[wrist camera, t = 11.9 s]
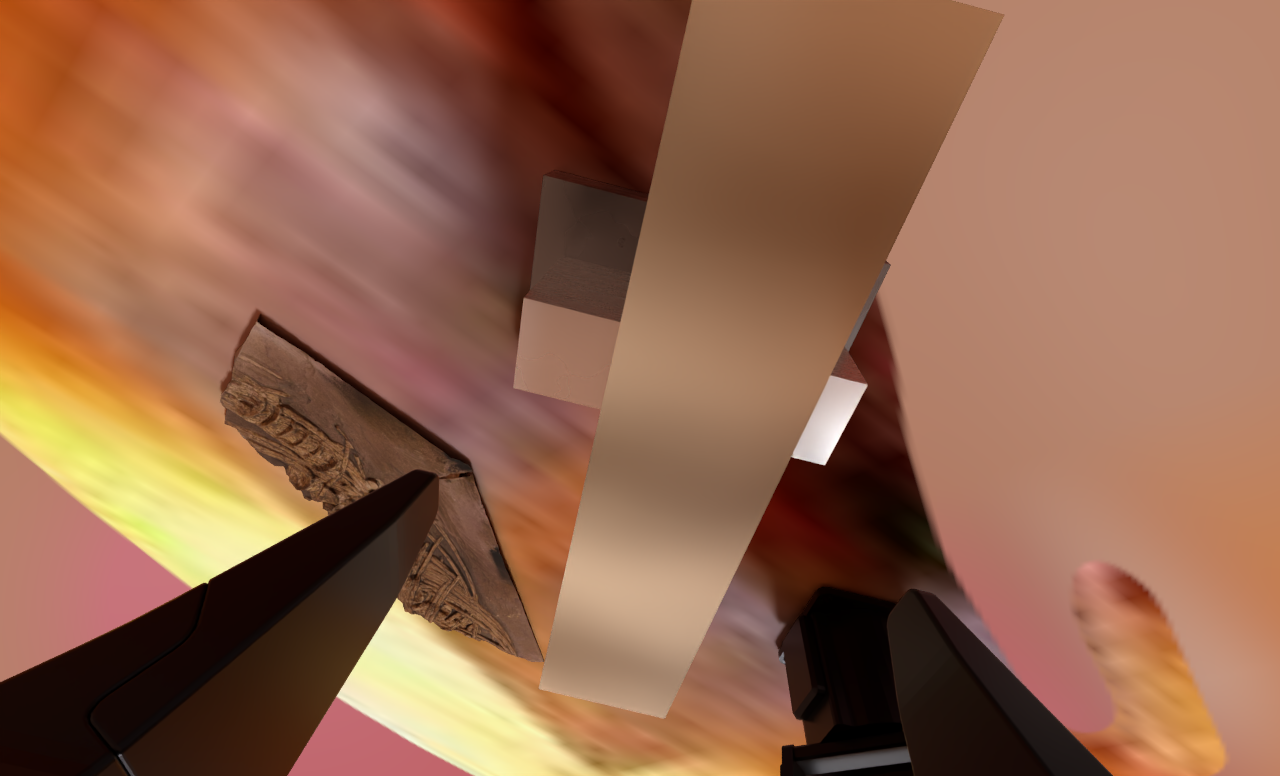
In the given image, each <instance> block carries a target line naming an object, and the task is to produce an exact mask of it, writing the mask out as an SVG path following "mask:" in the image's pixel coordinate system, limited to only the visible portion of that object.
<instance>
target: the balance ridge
mask: <svg viewBox="0 0 1280 776" xmlns="http://www.w3.org/2000/svg"><path fill="white" fill-rule="evenodd" d="M648 196H649V194H645V193H642V192H638V191H634V190H630V189H626V188H622V187H618V186H615V185H611V184H607V183H603V182H599V181H595V180H591V179H588V178H584V177H580V176H576V175H572V174H568V173H564V172H561V171H557V170H554V171H551V172H549V173H547V174H545V175H543V183H542V192H541V200H540V208H539V217H538V225H537V234H536V242H535V251H534V259H533V267H532V276H531V284H530V291H529V292H528V294H527V295H526V296H525V297H524V299H523V308H522V316H521V325H520V334H519V343H518V352H517V361H516V370H515V378H514V387H513V388H516V389H520V390H524V391H528V392H532V393H536V394H540V395H544V396H548V397H552V398H556V399H560V400H564V401H568V402H572V403H576V404H580V405H584V406H588V407H592V408H596V409H600V410H601V407H602V403H603V398H604V394H605V389H606V385H607V380H608V376H609V371H610V367H611V362H612V358H613V353H614V349H615V344H616V340H617V335H618V331H619V326H620V322H621V317H622V313H623V308H624V304H625V299H626V295H627V290H628V286H629V281H630V277H631V273H632V268H633V264H634V259H635V255H636V250H637V246H638V241H639V237H640V232H641V228H642V223H643V219H644V214H645V210H646V205H647V201H648ZM889 268H890V264H889V263H888V262H887V261H885V263H884V265H883V268H882V270H881V272H880V274H879V276H878V278H877V280H876V282H875V284H874V286H873V288H872V290H871V292H870V294H869V297H868V299H867V301H866V303H865V305H864V307H863V309H862V311H861V313H860V315H859V317H858V319H857V321H856V323H855V326H854V328H853V330H852V332H851V334H850V336H849V338H848V340H847V342H846V344H845V346H844V348H843V350H842V352H841V355H840V357H839V359H838V361H837V363H836V365H835V367H834V369H833V371H832V373H831V375H830V377H829V379H828V381H827V384H826V386H825V388H824V390H823V392H822V394H821V396H820V398H819V400H818V402H817V404H816V406H815V408H814V410H813V413H812V415H811V417H810V419H809V421H808V423H807V425H806V427H805V429H804V431H803V433H802V435H801V437H800V439H799V442H798V444H797V446H796V448H795V450H794V452H793V454H792V456H791V457H793V458H797V459H801V460H805V461H809V462H813V463H817V464H821V465H825V464H826V463H827V461H828V459H829V457H830V455H831V453H832V451H833V449H834V448H835V446H836V444H837V442H838V440H839V438H840V436H841V434H842V433H843V431H844V429H845V427H846V425H847V423H848V421H849V419H850V417H851V416H852V414H853V412H854V410H855V408H856V406H857V404H858V402H859V401H860V399H861V397H862V395H863V393H864V391H865V389H866V387H867V386H868V384H867V383H866V381H865V379H864V378H863V376H862V374H861V373H860V371H859V369H858V368H857V366H856V364H855V363H854V361H853V359H852V358H851V356H850V354H849V353H848V351H849V349H850V347H851V345H852V343H853V341H854V339H855V337H856V335H857V333H858V331H859V329H860V327H861V325H862V323H863V321H864V319H865V317H866V315H867V313H868V311H869V308H870V306H871V304H872V302H873V300H874V298H875V296H876V294H877V292H878V290H879V288H880V286H881V284H882V282H883V280H884V278H885V275H886V274H887V271H888V270H889Z"/></svg>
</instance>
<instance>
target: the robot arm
mask: <svg viewBox="0 0 1280 776" xmlns="http://www.w3.org/2000/svg"><path fill="white" fill-rule="evenodd" d="M438 507H439V476H438V475H437V474H436V473H433V472H429V471H425V470H421V469H415V470H412V471H410V472H408V473H407V474H405V475H403V476H401V477H399V478H397V479H395V480H394V481H392V482H390V483H388V484H386V485H384V486H382V487H381V488H379V489H377V490H375V491H373V492H371V493H369V494H368V495H366V496H364V497H362V498H360V499H358V500H357V501H355V502H353V503H351V504H349V505H347V506H345V507H344V508H342V509H340V510H338V511H336V512H334V513H332V514H331V515H329V516H327V517H325V518H323V519H321V520H319V521H318V522H316V523H314V524H312V525H310V526H308V527H306V528H305V529H303V530H301V531H299V532H297V533H295V534H293V535H292V536H290V537H288V538H286V539H284V540H282V541H280V542H279V543H277V544H275V545H273V546H271V547H269V548H267V549H266V550H264V551H262V552H260V553H258V554H256V555H254V556H253V557H251V558H249V559H247V560H245V561H243V562H241V563H240V564H238V565H236V566H234V567H232V568H230V569H229V570H227V571H225V572H223V573H221V574H219V575H217V576H216V577H214V578H212V579H210V580H209V582H208V584H207V583H202V584H200V585H198V586H197V587H195V588H193V589H191V590H189V591H187V592H185V593H184V594H182V595H180V596H178V597H176V598H174V599H172V600H170V601H169V602H167V603H165V604H163V605H161V606H159V607H157V608H155V609H153V610H151V611H149V612H148V613H145V614H144V615H142V616H140V617H138V618H136V619H134V620H132V621H130V622H128V623H126V624H124V625H122V626H120V627H117V628H115V629H113V630H111V631H109V632H107V633H105V634H103V635H101V636H99V637H97V638H94V639H92V640H90V641H88V642H86V643H84V644H82V645H80V646H78V647H76V648H73V649H71V650H69V651H67V652H65V653H63V654H61V655H58V656H56V657H54V658H52V659H50V660H48V661H45V662H43V663H41V664H39V665H37V666H34V667H33V668H30V669H28V670H26V671H24V672H22V673H20V674H17V675H15V676H13V677H11V678H9V679H6V680H4V681H2V682H0V776H287V775H288V774H289V772H290V771H291V769H292V767H293V766H294V764H295V762H296V761H297V759H298V757H299V756H300V754H301V753H302V751H303V749H304V748H305V746H306V745H307V743H308V741H309V740H310V738H311V736H312V735H313V733H314V732H315V730H316V728H317V727H318V725H319V724H320V722H321V720H322V719H323V717H324V715H325V714H326V712H327V710H328V709H329V707H330V706H331V704H332V702H333V701H334V699H335V698H336V696H337V694H338V693H339V691H340V689H341V688H342V686H343V685H344V683H345V681H346V680H347V678H348V676H349V675H350V673H351V672H352V670H353V668H354V667H355V665H356V663H357V662H358V660H359V659H360V657H361V655H362V654H363V652H364V650H365V649H366V647H367V646H368V644H369V642H370V641H371V639H372V638H373V636H374V634H375V633H376V631H377V629H378V628H379V626H380V625H381V623H382V621H383V620H384V618H385V616H386V615H387V613H388V612H389V610H390V608H391V607H392V605H393V603H394V602H395V600H396V598H397V596H398V595H399V593H400V591H401V589H402V587H403V585H404V583H405V581H406V579H407V577H408V575H409V572H410V570H411V568H412V566H413V564H414V562H415V560H416V558H417V556H418V554H419V551H420V549H421V547H422V545H423V543H424V541H425V539H426V537H427V535H428V532H429V530H430V528H431V526H432V524H433V522H434V520H435V518H436V515H437V512H438ZM778 654H779V660H780V662H781V663H783V664H785V665H786V672H787V678H788V685H789V691H790V698H791V704H792V711H793V714H794V716H795V717H796V719H798V720H802V721H803V725H804V731H805V737H806V743H807V745H801V746H794V745H786V746H782V765H781V766H780V776H1113V775H1112V774H1111V773H1110V772H1109V771H1108V770H1107V769H1106V768H1105V767H1104V766H1103V765H1102V764H1101V763H1100V762H1099V761H1098V760H1097V759H1096V758H1095V757H1094V756H1093V755H1092V754H1091V753H1090V752H1089V751H1088V750H1087V749H1086V748H1085V747H1084V746H1083V745H1082V744H1081V743H1080V742H1079V741H1078V740H1077V739H1076V738H1075V737H1074V735H1073V734H1072V733H1071V732H1070V731H1069V730H1068V729H1067V728H1066V727H1065V726H1064V725H1063V724H1062V723H1061V722H1060V721H1059V720H1058V719H1057V718H1056V717H1055V716H1054V715H1053V714H1052V713H1051V712H1050V711H1049V710H1048V709H1047V708H1046V707H1045V706H1044V705H1043V704H1042V703H1041V702H1040V701H1039V700H1038V699H1037V698H1036V697H1035V696H1034V695H1033V694H1032V693H1031V692H1030V691H1029V690H1028V689H1027V688H1026V687H1025V686H1024V685H1023V684H1022V683H1021V682H1020V681H1019V680H1018V679H1017V678H1016V677H1015V675H1014V674H1013V673H1012V672H1011V671H1010V670H1009V669H1008V668H1007V667H1006V666H1005V665H1004V664H1003V663H1002V662H1001V661H1000V660H999V659H998V658H997V657H996V656H995V655H994V654H993V653H992V652H991V651H990V650H989V649H988V648H987V647H986V646H985V645H984V644H983V643H982V642H981V641H980V640H979V639H978V638H977V637H976V636H975V635H974V634H973V633H972V632H971V631H970V630H969V629H968V628H967V627H966V626H965V625H964V624H963V623H962V622H961V621H960V620H959V619H958V618H957V616H956V615H955V614H954V613H953V612H952V611H951V610H950V609H949V608H948V607H947V606H946V605H945V604H944V603H943V602H942V601H941V600H940V599H939V598H938V597H937V596H936V595H934V594H932V593H929V592H925V591H921V590H917V589H910V590H908V591H907V592H906V593H905V594H904V595H903V597H902V598H901V599H900V601H899V602H898V603H897V604H895V603H890V602H886V601H882V600H878V599H874V598H870V597H866V596H862V595H858V594H854V593H849V592H845V591H841V590H837V589H833V588H829V587H822V588H819V589H818V590H817V591H816V592H815V594H814V595H813V597H812V598H811V600H810V602H809V603H808V605H807V606H806V608H805V610H804V611H803V613H802V614H801V616H799V617H798V618H797V620H796V621H795V623H794V625H793V626H792V628H791V629H790V631H789V633H788V634H787V636H786V638H785V639H784V641H783V643H782V646H781V648H780V650H779V652H778Z"/></svg>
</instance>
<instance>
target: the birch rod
mask: <svg viewBox="0 0 1280 776" xmlns="http://www.w3.org/2000/svg"><path fill="white" fill-rule="evenodd" d="M1003 17H1004V14H1000V13H996V12H993V11H989V10H985V9H982V8H978V7H974V6H970V5H967V4H963V3H959V2H956V1H952V0H692V3H691V8H690V12H689V17H688V21H687V26H686V30H685V35H684V39H683V44H682V48H681V53H680V57H679V62H678V66H677V71H676V75H675V80H674V84H673V89H672V93H671V98H670V102H669V107H668V111H667V116H666V120H665V125H664V129H663V133H662V138H661V142H660V147H659V151H658V156H657V160H656V165H655V169H654V174H653V178H652V183H651V187H650V192H649V196H648V201H647V205H646V210H645V214H644V219H643V223H642V228H641V232H640V237H639V241H638V246H637V250H636V255H635V259H634V264H633V268H632V273H631V277H630V281H629V286H628V290H627V295H626V299H625V304H624V308H623V313H622V317H621V322H620V326H619V331H618V335H617V340H616V344H615V349H614V353H613V358H612V362H611V367H610V371H609V376H608V380H607V385H606V389H605V394H604V398H603V403H602V407H601V412H600V416H599V421H598V425H597V429H596V434H595V438H594V443H593V447H592V452H591V456H590V461H589V465H588V470H587V474H586V479H585V483H584V488H583V492H582V497H581V501H580V506H579V510H578V515H577V519H576V524H575V528H574V533H573V537H572V542H571V546H570V551H569V555H568V560H567V564H566V569H565V573H564V578H563V582H562V586H561V591H560V595H559V600H558V604H557V609H556V613H555V618H554V622H553V627H552V631H551V636H550V640H549V645H548V649H547V654H546V658H545V663H544V667H543V672H542V676H541V681H540V685H539V689H541V690H545V691H549V692H554V693H558V694H562V695H566V696H571V697H575V698H579V699H583V700H587V701H592V702H596V703H600V704H604V705H609V706H613V707H617V708H621V709H626V710H630V711H634V712H638V713H643V714H647V715H651V716H655V717H659V718H664V719H665V717H666V715H667V713H668V711H669V709H670V707H671V705H672V702H673V700H674V698H675V696H676V694H677V692H678V690H679V688H680V686H681V684H682V682H683V680H684V678H685V676H686V673H687V671H688V669H689V667H690V665H691V663H692V661H693V659H694V657H695V655H696V653H697V651H698V649H699V647H700V644H701V642H702V640H703V638H704V636H705V634H706V632H707V630H708V628H709V626H710V624H711V622H712V620H713V618H714V615H715V613H716V611H717V609H718V607H719V605H720V603H721V601H722V599H723V597H724V595H725V593H726V591H727V589H728V586H729V584H730V582H731V580H732V578H733V576H734V574H735V572H736V570H737V568H738V566H739V564H740V562H741V560H742V557H743V555H744V553H745V551H746V549H747V547H748V545H749V543H750V541H751V539H752V537H753V535H754V533H755V531H756V528H757V526H758V524H759V522H760V520H761V518H762V516H763V514H764V512H765V510H766V508H767V506H768V504H769V502H770V499H771V497H772V495H773V493H774V491H775V489H776V487H777V485H778V483H779V481H780V479H781V477H782V475H783V473H784V471H785V468H786V466H787V464H788V462H789V460H790V458H791V456H792V454H793V452H794V450H795V448H796V446H797V444H798V442H799V439H800V437H801V435H802V433H803V431H804V429H805V427H806V425H807V423H808V421H809V419H810V417H811V415H812V413H813V410H814V408H815V406H816V404H817V402H818V400H819V398H820V396H821V394H822V392H823V390H824V388H825V386H826V384H827V381H828V379H829V377H830V375H831V373H832V371H833V369H834V367H835V365H836V363H837V361H838V359H839V357H840V355H841V352H842V350H843V348H844V346H845V344H846V342H847V340H848V338H849V336H850V334H851V332H852V330H853V328H854V326H855V323H856V321H857V319H858V317H859V315H860V313H861V311H862V309H863V307H864V305H865V303H866V301H867V299H868V297H869V294H870V292H871V290H872V288H873V286H874V284H875V282H876V280H877V278H878V276H879V274H880V272H881V270H882V268H883V265H884V263H885V261H886V259H887V257H888V255H889V253H890V251H891V249H892V247H893V244H894V243H895V241H896V239H897V236H898V234H899V232H900V230H901V228H902V226H903V224H904V222H905V220H906V218H907V216H908V214H909V212H910V210H911V207H912V205H913V203H914V201H915V199H916V197H917V195H918V193H919V191H920V189H921V187H922V185H923V183H924V181H925V178H926V176H927V174H928V172H929V170H930V168H931V166H932V164H933V162H934V160H935V158H936V156H937V153H938V152H939V150H940V147H941V145H942V143H943V141H944V139H945V137H946V135H947V133H948V131H949V129H950V126H951V125H952V123H953V121H954V118H955V116H956V114H957V112H958V110H959V108H960V106H961V104H962V102H963V100H964V98H965V95H966V94H967V92H968V89H969V87H970V85H971V83H972V81H973V79H974V77H975V75H976V73H977V71H978V69H979V67H980V65H981V62H982V60H983V58H984V56H985V54H986V52H987V50H988V48H989V46H990V44H991V42H992V40H993V38H994V35H995V33H996V31H997V29H998V27H999V25H1000V23H1001V21H1002V19H1003Z"/></svg>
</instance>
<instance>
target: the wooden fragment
mask: <svg viewBox="0 0 1280 776" xmlns="http://www.w3.org/2000/svg"><path fill="white" fill-rule="evenodd" d="M258 319H259V318H258ZM258 319H257V321H258ZM257 321H256V323H255V325H254V326H253V328H252V330H251V332H250V334H249V336H248V337H247V339H246V341H245V342H244V343H243V344H242V346H241V347H240V348H239V349H238V350H237V352H236V353H235V356H234V367H233V372H232V380H231V381H230V382H229V384H228V385H227V389H225V391H224V392H223V393H222V394H221V400H220V402H221V403H222V405H223V407H225V408H226V409H227V411H226V417H225V424H227V425H229V426H232V427H234V428H236V429H237V430H238V432H239V433H240V434H241V435H242V437H243V438H245V439H246V440H247V441H248V442H249V443H250V445H251V446H252V447H254V448H255V449H256V451H257V452H258V453H259V454H260V455H261V456H262V457H263V458H265V459H266V460H267V461H268V462H270V463H271V464H273V465H274V466H284V468H285V470H286V474H287V475H288V476H289V481H290V482H291V483H292V484H293V486H294V487H295V488H296V489H297V490H301V491H302V493H303V496H304V498H305V499H307V500H309V501H310V500H314V501H317V502H323V509H325V510H327V511H328V516H329V515H331V514H332V513H334V512H336V511H338V510H340V509H342V508H344V507H345V506H347V505H349V504H351V503H353V502H355V501H357V500H358V499H360V498H362V497H364V496H366V495H368V494H369V493H371V492H373V491H375V490H377V489H379V488H381V487H382V486H384V485H386V484H388V483H390V482H392V481H394V480H395V479H397V478H399V477H401V476H403V475H405V474H407V473H408V472H410V471H412V470H415V469H421V470H425V471H429V472H433V473H436V474H437V475H438V476H439V507H438V512H437V515H436V518H435V520H434V522H433V524H432V526H431V528H430V530H429V532H428V535H427V537H426V539H425V541H424V543H423V545H422V547H421V549H420V551H419V554H418V556H417V558H416V560H415V562H414V564H413V566H412V568H411V570H410V572H409V575H408V577H407V579H406V581H405V583H404V585H403V587H402V589H401V591H400V593H399V595H398V596H397V598H398V599H399V600H400V601H401V602H402V603H403V607H404V610H405V612H409V613H410V614H418V615H421V616H422V617H423V618H425V619H426V620H428V621H429V622H430V623H431V622H434V623H435V624H437V625H438V626H439V627H440V628H441V629H443V630H446V631H452V630H455V631H458V632H460V633H462V634H464V635H465V636H467V637H469V638H474V639H476V640H478V641H481V640H483V641H487V642H489V643H491V644H492V645H494V646H496V647H497V648H498V649H500V650H502V651H504V652H506V653H508V654H511V655H514V656H517V657H521V658H524V659H526V660H528V661H531V662H544V660H543V658H542V655H541V652H540V650H539V647H538V645H537V642H536V640H535V638H534V636H533V633H532V630H531V628H530V625H529V623H528V620H527V617H526V615H525V613H524V609H523V607H522V604H521V601H520V600H519V597H518V595H517V592H516V590H515V588H514V585H513V583H512V581H511V579H510V576H509V574H508V572H507V570H506V568H505V565H504V561H503V559H502V556H501V554H500V552H499V547H498V545H497V542H496V540H495V536H494V534H493V531H492V528H491V526H490V523H489V520H488V518H487V516H486V514H485V509H484V508H483V505H481V499H480V496H479V493H478V490H477V488H476V486H475V482H474V477H473V474H472V473H471V475H470V476H469V477H467V476H466V477H460V478H459V474H460V473H466V474H467V472H472V469H471V468H470V466H469V465H467V464H465V463H463V462H461V461H460V460H456V459H454V458H450V457H449V456H448V455H447V454H446V453H444V452H443V451H442V450H440V449H439V448H437V447H436V446H434V445H433V444H432V443H430V442H428V441H427V440H426V439H424V438H423V437H421V436H420V435H419V434H417V433H416V432H415V431H413V430H412V429H411V428H409V427H408V426H407V425H405V424H404V423H402V422H400V421H398V419H397V418H395V417H394V416H392V415H391V414H389V413H388V412H387V411H385V410H384V409H383V408H381V407H380V406H378V405H377V404H375V403H374V402H372V401H371V400H370V399H369V398H368V397H366V396H365V395H363V394H362V393H360V392H359V391H357V390H356V389H355V388H353V387H352V386H351V385H349V384H347V383H346V382H344V381H343V380H342V379H340V378H339V377H338V376H337V375H335V374H334V373H332V372H331V371H329V370H328V369H327V368H325V366H324V365H322V364H321V363H319V362H316V361H314V359H313V358H311V357H310V356H309V355H307V354H306V353H305V352H303V351H302V350H300V349H298V348H296V347H295V346H293V345H291V344H290V343H288V342H287V341H286V340H284V339H282V338H280V337H278V336H276V335H275V334H274V333H273V332H271V331H269V330H268V329H267V328H265V327H263V326H262V325H260V324H259V323H258V322H257Z"/></svg>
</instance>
